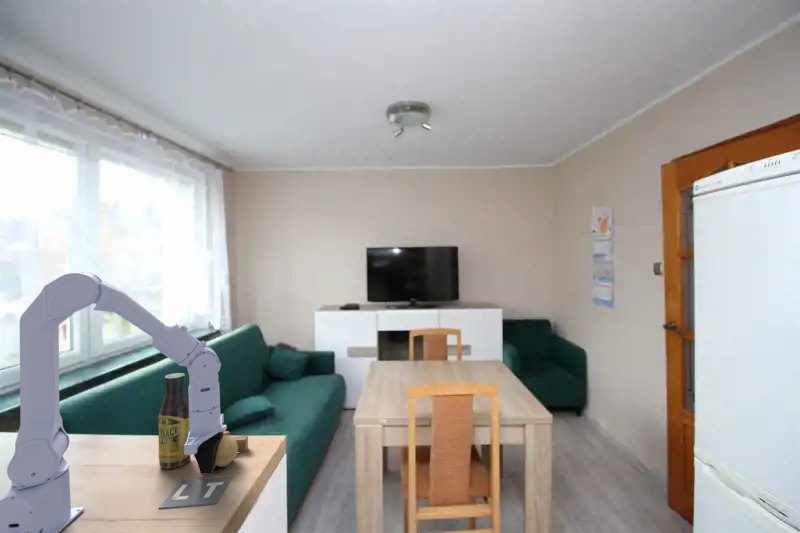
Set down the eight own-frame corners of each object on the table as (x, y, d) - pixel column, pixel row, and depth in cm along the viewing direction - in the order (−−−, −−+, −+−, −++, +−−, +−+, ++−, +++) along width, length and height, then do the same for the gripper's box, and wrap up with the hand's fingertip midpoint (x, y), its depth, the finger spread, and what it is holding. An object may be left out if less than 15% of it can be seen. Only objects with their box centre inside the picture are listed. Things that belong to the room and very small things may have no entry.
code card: (215, 504, 71) (215, 502, 71) (158, 508, 70) (158, 507, 70) (232, 477, 80) (232, 475, 80) (182, 480, 79) (182, 479, 79)
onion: (226, 474, 80) (225, 439, 81) (189, 473, 81) (189, 439, 81) (244, 456, 88) (243, 425, 89) (210, 457, 89) (210, 425, 89)
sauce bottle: (152, 469, 84) (148, 378, 84) (175, 455, 90) (171, 370, 90) (177, 472, 83) (173, 380, 82) (198, 457, 89) (195, 371, 88)
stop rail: (245, 452, 91) (245, 439, 90) (205, 455, 90) (205, 442, 90) (248, 448, 93) (247, 435, 92) (209, 450, 92) (208, 438, 92)
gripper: (210, 419, 73) (213, 491, 73) (236, 393, 87) (238, 453, 87) (171, 422, 72) (174, 494, 72) (204, 395, 86) (206, 455, 87)
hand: (207, 472), depth 80 cm, fingers closed
